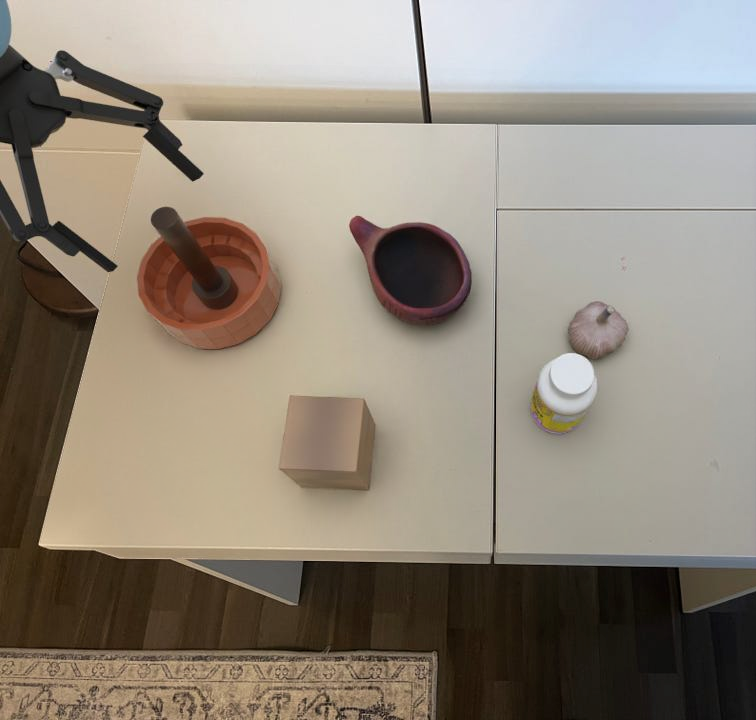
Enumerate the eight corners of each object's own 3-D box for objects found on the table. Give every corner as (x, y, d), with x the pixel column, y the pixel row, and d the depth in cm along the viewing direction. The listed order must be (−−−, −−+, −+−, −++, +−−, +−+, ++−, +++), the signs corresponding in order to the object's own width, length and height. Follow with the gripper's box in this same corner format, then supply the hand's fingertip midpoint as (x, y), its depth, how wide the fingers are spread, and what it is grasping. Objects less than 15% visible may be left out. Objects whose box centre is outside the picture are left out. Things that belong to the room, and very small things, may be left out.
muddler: (210, 316, 84) (152, 244, 68) (194, 288, 85) (133, 212, 69) (244, 297, 85) (194, 222, 69) (227, 270, 86) (175, 191, 70)
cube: (300, 487, 77) (278, 468, 67) (309, 421, 80) (289, 395, 70) (369, 490, 77) (356, 472, 67) (375, 424, 80) (364, 398, 70)
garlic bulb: (624, 314, 86) (639, 285, 79) (623, 366, 83) (639, 341, 76) (567, 309, 86) (576, 279, 79) (564, 360, 83) (574, 334, 76)
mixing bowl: (192, 373, 82) (170, 353, 76) (140, 281, 86) (116, 256, 80) (303, 310, 85) (291, 287, 79) (248, 225, 90) (232, 197, 84)
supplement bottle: (530, 382, 82) (541, 341, 70) (582, 385, 82) (603, 344, 70) (529, 434, 80) (541, 401, 68) (583, 436, 80) (605, 404, 68)
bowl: (477, 255, 89) (478, 221, 82) (465, 341, 84) (465, 313, 77) (359, 242, 89) (350, 207, 82) (341, 327, 84) (330, 298, 77)
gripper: (51, -14, 66) (220, 148, 78) (-154, 155, 58) (68, 310, 69) (61, -45, 61) (242, 136, 72) (-166, 139, 52) (79, 311, 63)
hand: (157, 222), depth 71 cm, fingers open, 13 cm apart
